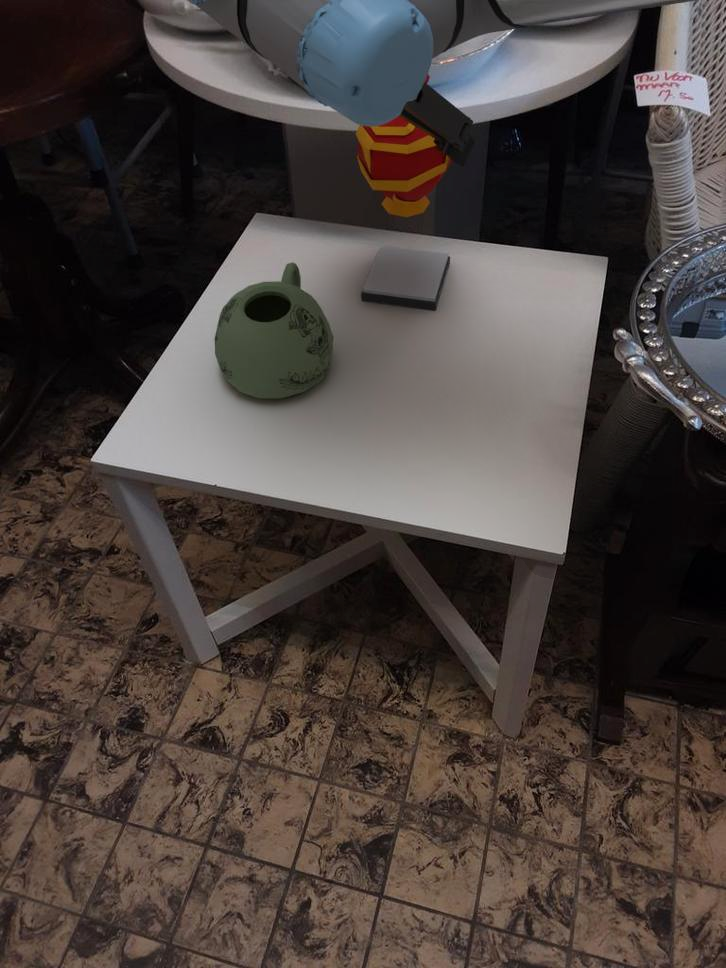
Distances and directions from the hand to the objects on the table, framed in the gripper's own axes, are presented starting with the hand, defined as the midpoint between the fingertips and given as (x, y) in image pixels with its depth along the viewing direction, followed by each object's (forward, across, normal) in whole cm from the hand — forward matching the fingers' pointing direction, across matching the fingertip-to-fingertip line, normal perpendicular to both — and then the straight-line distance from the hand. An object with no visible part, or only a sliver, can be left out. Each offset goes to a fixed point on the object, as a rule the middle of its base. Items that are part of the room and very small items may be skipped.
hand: (423, 138), depth 81 cm
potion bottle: (+2, 0, -6) cm, 7 cm away
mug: (-3, -4, -27) cm, 28 cm away
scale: (+10, 0, -14) cm, 17 cm away
